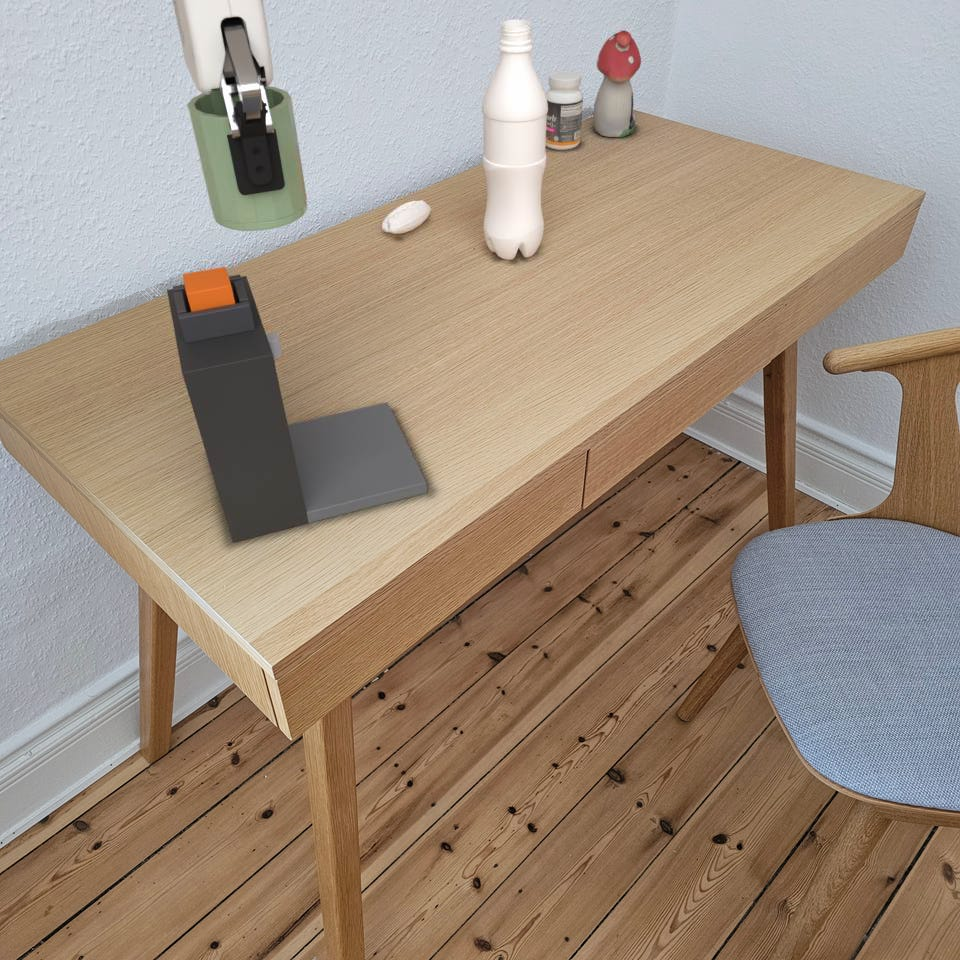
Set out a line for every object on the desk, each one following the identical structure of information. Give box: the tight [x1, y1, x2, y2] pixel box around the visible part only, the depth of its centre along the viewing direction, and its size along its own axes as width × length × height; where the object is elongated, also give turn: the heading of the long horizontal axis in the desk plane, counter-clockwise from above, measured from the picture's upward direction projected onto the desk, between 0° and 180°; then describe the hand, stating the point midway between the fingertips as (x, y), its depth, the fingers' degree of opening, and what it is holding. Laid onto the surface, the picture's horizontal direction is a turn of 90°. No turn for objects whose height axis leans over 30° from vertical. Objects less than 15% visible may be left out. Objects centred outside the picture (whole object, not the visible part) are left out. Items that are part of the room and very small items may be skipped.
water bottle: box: [481, 19, 548, 261], centre depth 95 cm, size 7×7×25 cm
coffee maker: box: [166, 273, 428, 544], centre depth 67 cm, size 16×12×18 cm
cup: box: [186, 85, 308, 232], centre depth 62 cm, size 7×7×8 cm
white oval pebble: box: [381, 199, 432, 235], centre depth 107 cm, size 3×8×3 cm, turn 145°
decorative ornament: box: [592, 29, 642, 138], centre depth 128 cm, size 9×7×15 cm
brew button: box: [182, 266, 236, 312], centre depth 59 cm, size 3×3×2 cm
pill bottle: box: [545, 69, 584, 151], centre depth 126 cm, size 6×6×10 cm
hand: (252, 169), depth 62 cm, fingers closed on cup, 7 cm apart
